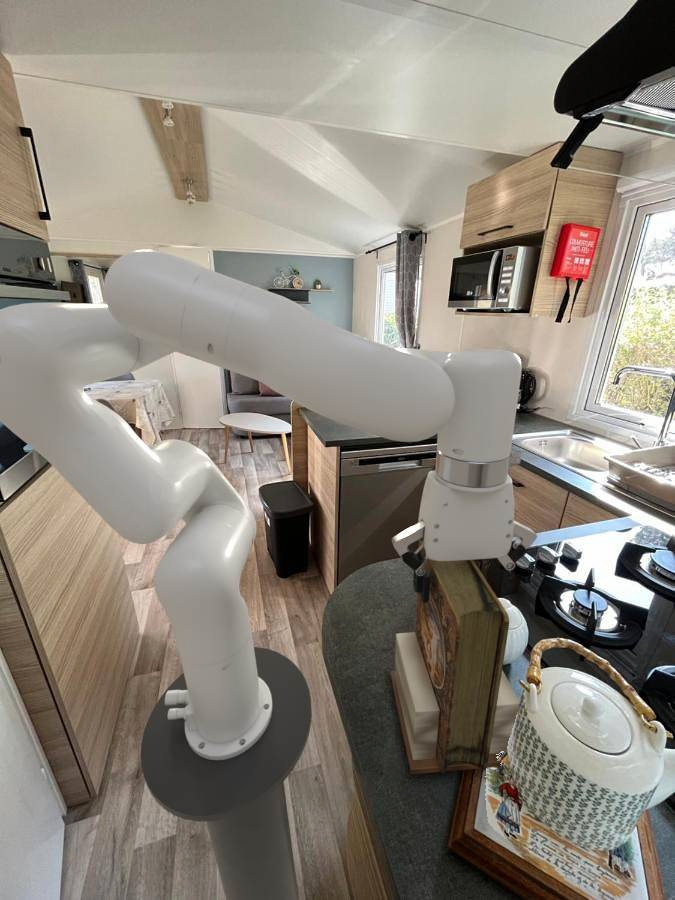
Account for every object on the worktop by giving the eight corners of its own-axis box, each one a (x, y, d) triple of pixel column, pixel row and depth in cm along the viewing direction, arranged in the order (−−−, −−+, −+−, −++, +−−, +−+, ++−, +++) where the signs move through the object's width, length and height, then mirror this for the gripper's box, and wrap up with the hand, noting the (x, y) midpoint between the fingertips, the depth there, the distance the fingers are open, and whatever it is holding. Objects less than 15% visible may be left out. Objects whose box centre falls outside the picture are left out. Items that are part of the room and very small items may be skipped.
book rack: (410, 774, 49) (413, 720, 45) (390, 676, 62) (391, 628, 58) (517, 765, 49) (528, 711, 46) (474, 669, 62) (480, 622, 59)
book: (410, 664, 62) (416, 533, 54) (443, 661, 63) (454, 531, 54) (442, 779, 47) (458, 622, 38) (485, 775, 47) (511, 618, 39)
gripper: (529, 450, 46) (511, 569, 52) (386, 457, 45) (385, 577, 51) (569, 475, 39) (542, 610, 45) (400, 484, 38) (396, 620, 44)
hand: (458, 592), depth 48 cm, fingers open, 8 cm apart
